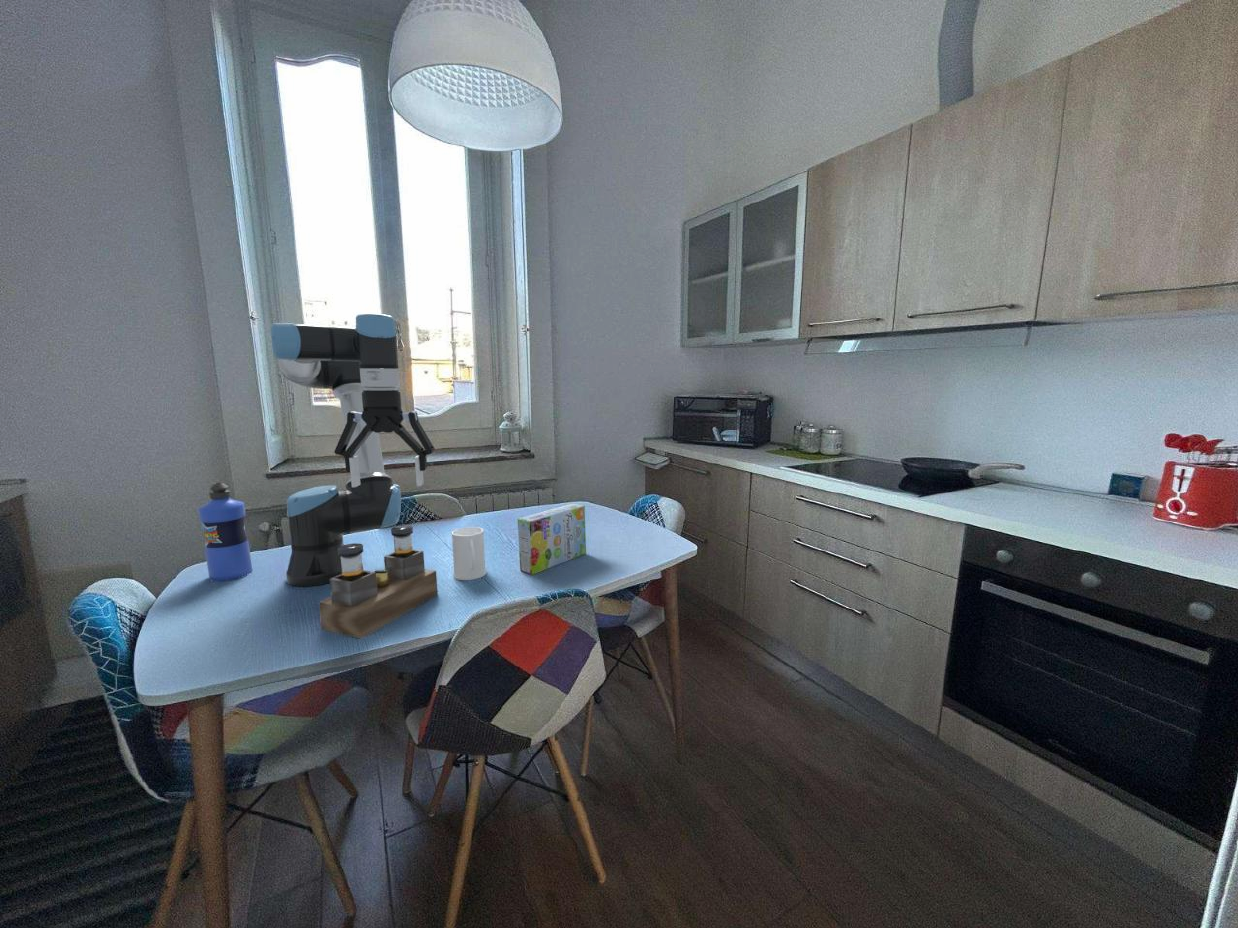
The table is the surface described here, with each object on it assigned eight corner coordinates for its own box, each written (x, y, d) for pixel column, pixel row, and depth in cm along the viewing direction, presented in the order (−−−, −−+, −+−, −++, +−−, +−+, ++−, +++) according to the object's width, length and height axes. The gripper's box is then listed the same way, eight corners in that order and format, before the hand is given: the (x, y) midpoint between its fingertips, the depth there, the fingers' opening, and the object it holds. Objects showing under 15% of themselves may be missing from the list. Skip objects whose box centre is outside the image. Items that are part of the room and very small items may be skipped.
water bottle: (224, 583, 123) (210, 488, 119) (199, 578, 126) (185, 485, 122) (261, 570, 132) (249, 481, 128) (237, 566, 135) (225, 478, 131)
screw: (371, 588, 106) (370, 573, 106) (378, 582, 109) (377, 568, 109) (385, 588, 106) (384, 573, 106) (391, 582, 109) (390, 568, 109)
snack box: (573, 550, 148) (572, 502, 146) (586, 554, 145) (586, 505, 142) (518, 570, 132) (516, 517, 130) (532, 575, 128) (530, 521, 126)
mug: (489, 582, 124) (487, 537, 122) (454, 587, 121) (451, 541, 119) (485, 566, 135) (483, 525, 133) (452, 570, 132) (450, 528, 130)
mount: (321, 629, 100) (316, 579, 99) (402, 587, 121) (398, 545, 119) (361, 638, 97) (356, 586, 95) (437, 594, 117) (434, 550, 115)
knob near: (335, 584, 99) (332, 549, 98) (354, 576, 104) (351, 542, 102) (352, 587, 98) (349, 551, 97) (371, 579, 102) (368, 544, 101)
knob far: (389, 561, 112) (386, 529, 111) (404, 554, 117) (401, 524, 115) (404, 563, 111) (402, 532, 110) (419, 557, 115) (417, 526, 114)
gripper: (310, 389, 99) (320, 490, 102) (436, 390, 101) (442, 488, 105) (327, 388, 106) (336, 482, 110) (445, 389, 109) (450, 481, 113)
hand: (388, 485), depth 108 cm, fingers open, 13 cm apart
